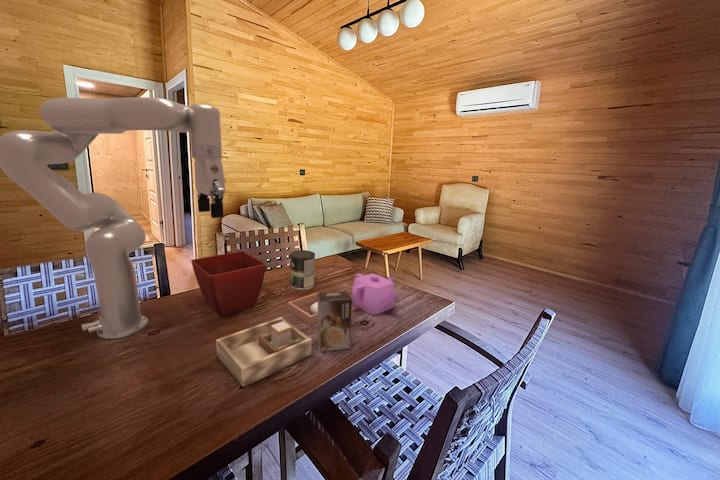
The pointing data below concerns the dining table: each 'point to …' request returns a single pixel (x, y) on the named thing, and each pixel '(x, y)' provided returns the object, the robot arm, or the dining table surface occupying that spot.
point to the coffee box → (334, 320)
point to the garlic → (314, 308)
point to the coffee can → (302, 269)
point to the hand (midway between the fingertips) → (210, 214)
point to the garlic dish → (294, 308)
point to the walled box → (260, 352)
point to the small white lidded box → (280, 334)
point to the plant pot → (229, 281)
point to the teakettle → (373, 293)
